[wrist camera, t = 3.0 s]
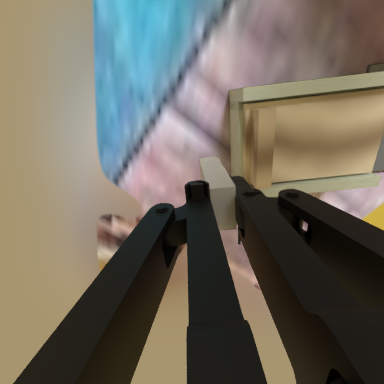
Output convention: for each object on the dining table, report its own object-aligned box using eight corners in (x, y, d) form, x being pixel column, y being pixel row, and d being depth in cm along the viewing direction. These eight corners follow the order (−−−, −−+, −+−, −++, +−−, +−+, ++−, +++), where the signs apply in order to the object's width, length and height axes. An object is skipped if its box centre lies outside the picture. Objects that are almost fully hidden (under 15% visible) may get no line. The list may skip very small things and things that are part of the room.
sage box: (229, 90, 25) (243, 87, 19) (358, 75, 24) (416, 67, 18) (231, 179, 30) (242, 200, 24) (338, 168, 30) (378, 185, 23)
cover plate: (243, 104, 21) (253, 104, 18) (385, 87, 21) (423, 85, 18) (242, 181, 25) (251, 194, 22) (363, 169, 25) (390, 179, 21)
